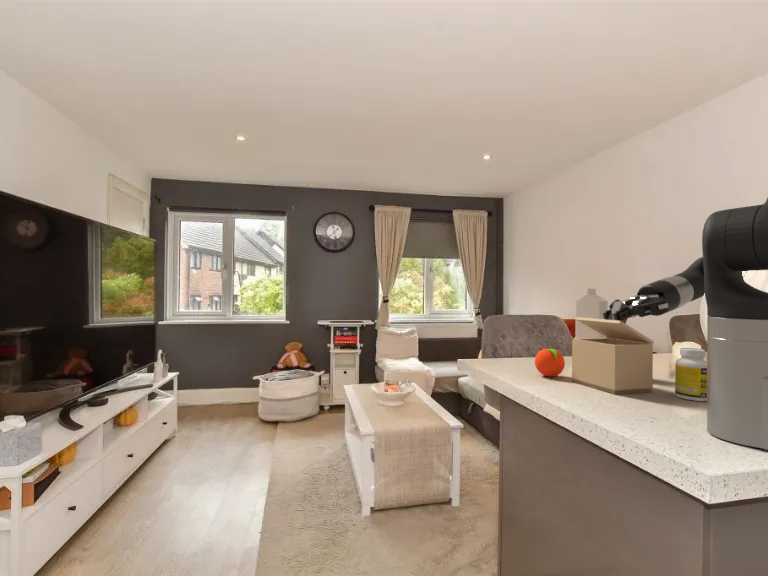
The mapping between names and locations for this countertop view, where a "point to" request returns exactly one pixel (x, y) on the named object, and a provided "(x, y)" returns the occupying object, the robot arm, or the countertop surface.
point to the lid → (615, 327)
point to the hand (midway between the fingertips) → (610, 317)
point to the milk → (589, 313)
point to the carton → (613, 365)
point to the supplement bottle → (691, 375)
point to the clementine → (549, 362)
